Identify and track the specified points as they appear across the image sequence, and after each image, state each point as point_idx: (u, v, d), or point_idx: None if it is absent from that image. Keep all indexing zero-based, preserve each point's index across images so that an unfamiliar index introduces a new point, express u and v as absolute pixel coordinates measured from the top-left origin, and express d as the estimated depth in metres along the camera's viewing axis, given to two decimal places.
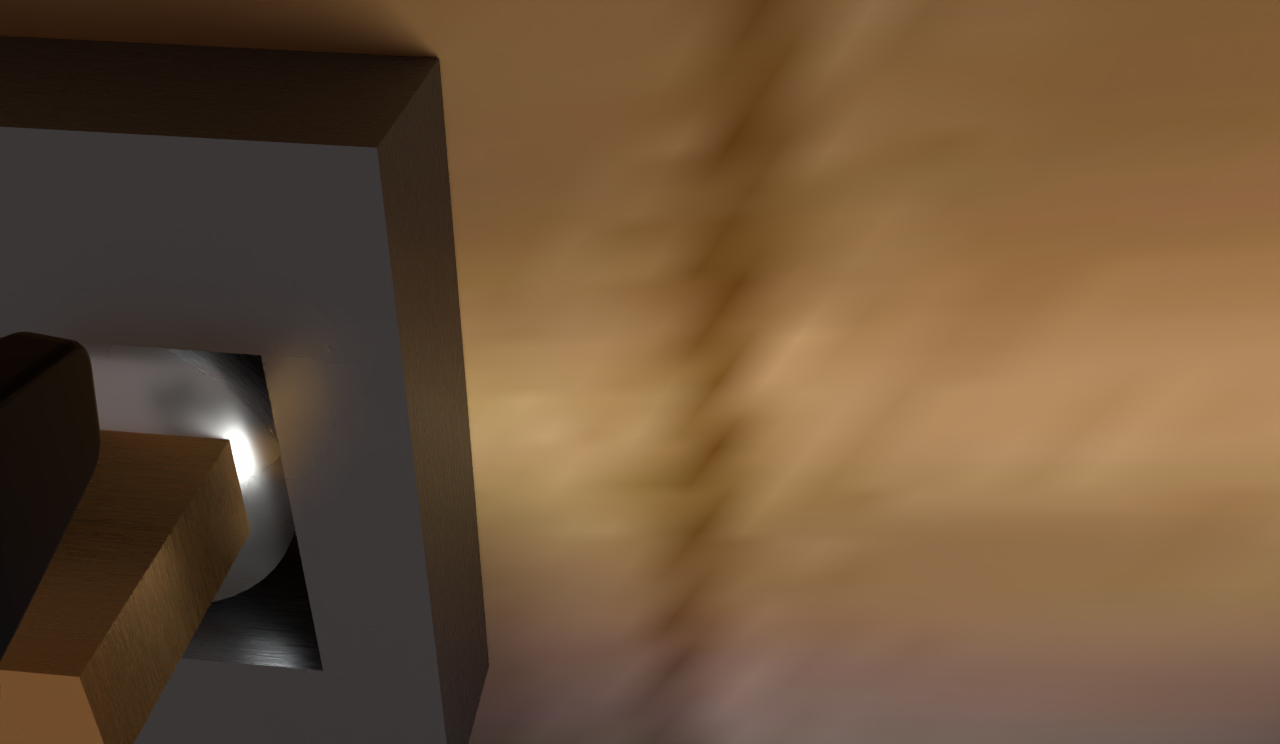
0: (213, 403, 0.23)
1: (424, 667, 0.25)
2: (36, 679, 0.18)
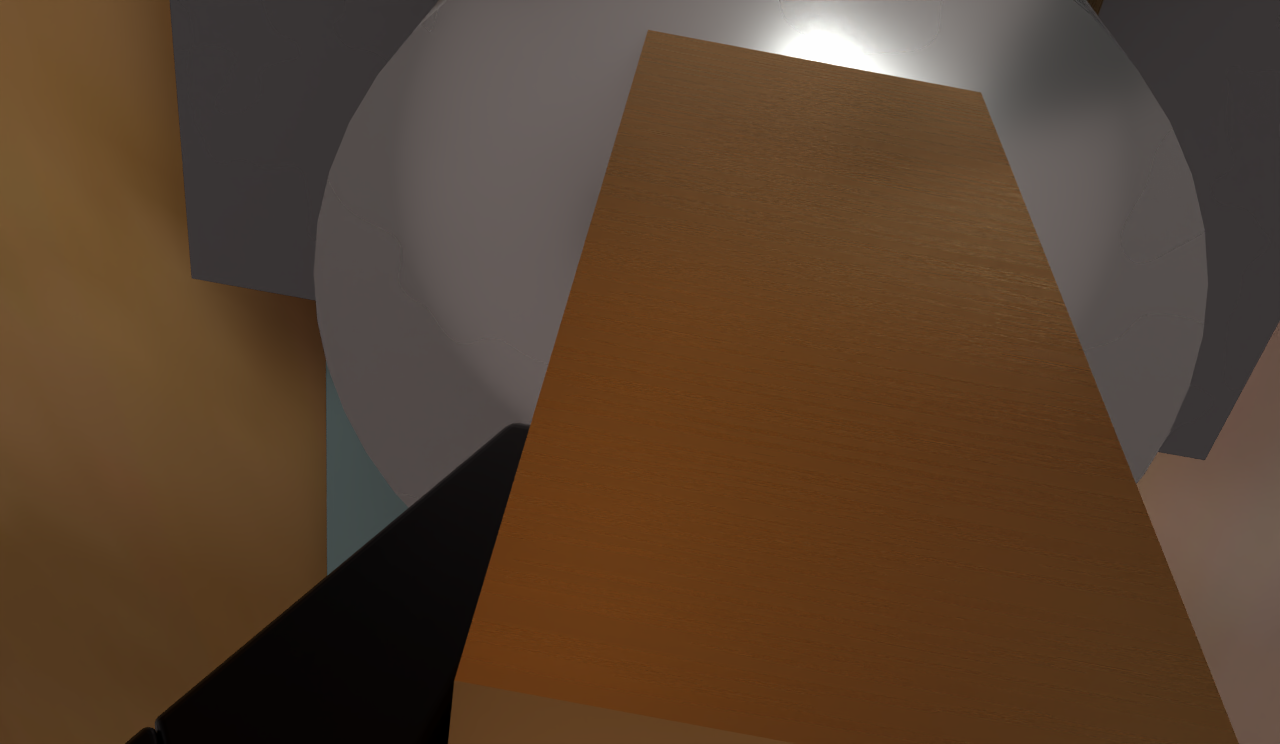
0: (528, 29, 0.08)
1: None
2: None
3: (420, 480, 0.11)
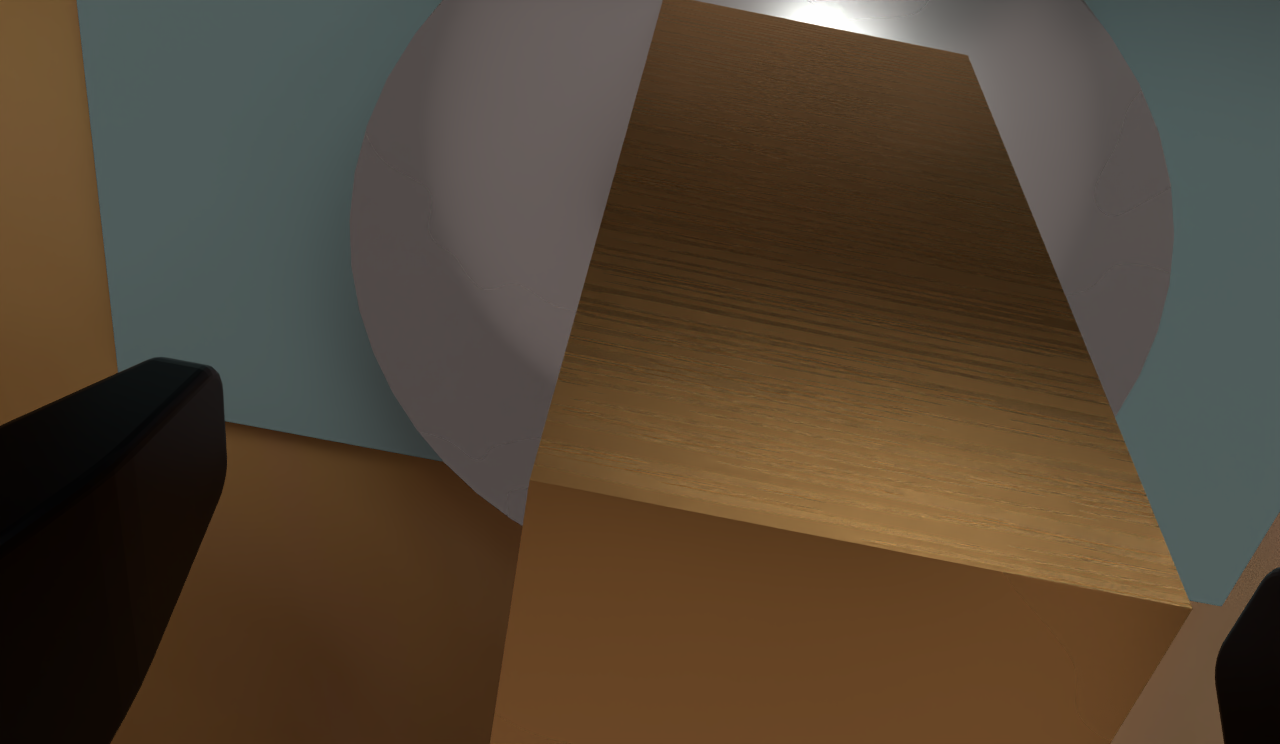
0: None
1: None
2: (544, 628, 0.05)
3: (443, 420, 0.12)
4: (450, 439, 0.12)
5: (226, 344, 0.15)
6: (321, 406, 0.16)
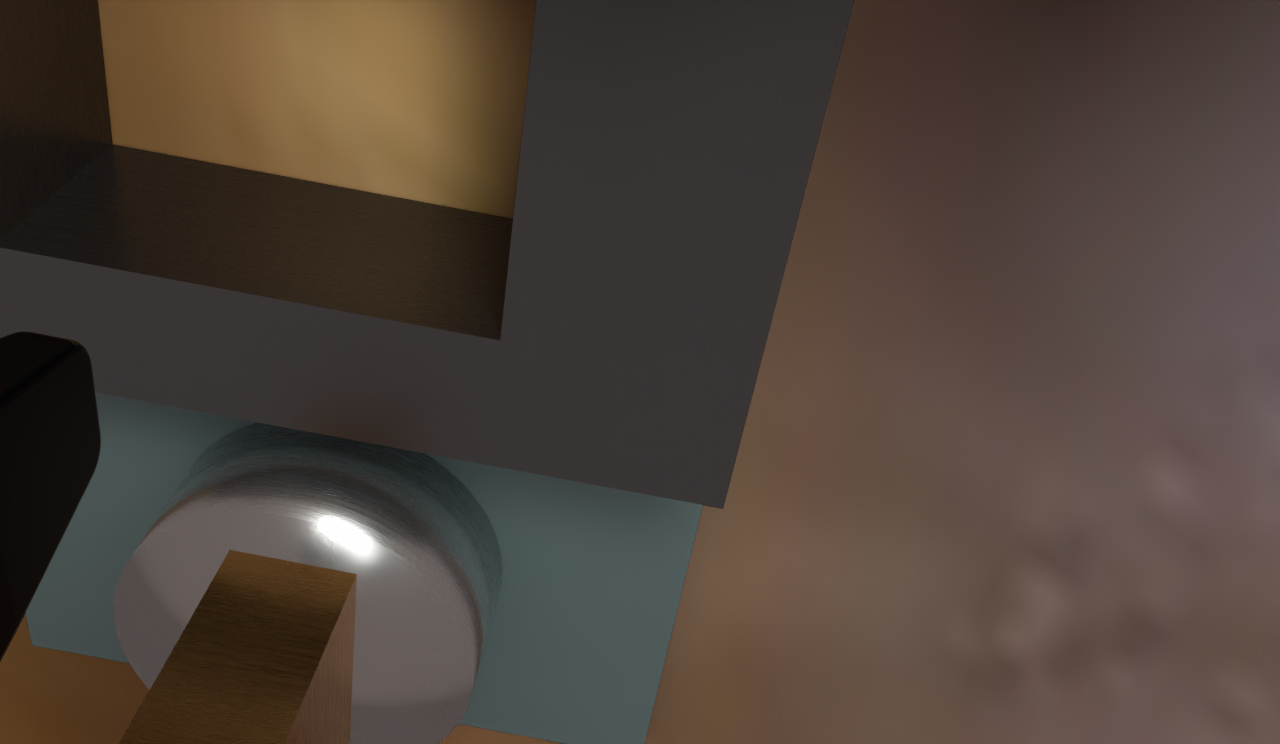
0: (185, 547, 0.22)
1: None
2: None
3: None
4: None
5: (85, 620, 0.28)
6: None
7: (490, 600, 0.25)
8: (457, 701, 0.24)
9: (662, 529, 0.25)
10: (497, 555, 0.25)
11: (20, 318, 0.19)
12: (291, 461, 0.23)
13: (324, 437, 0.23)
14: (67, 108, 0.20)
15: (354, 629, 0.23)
